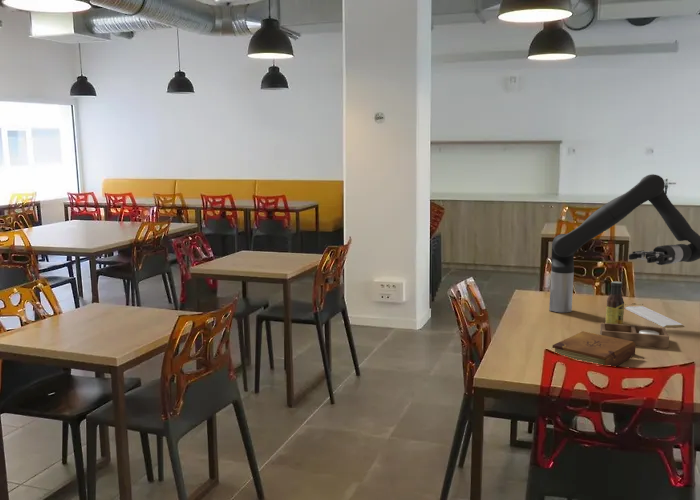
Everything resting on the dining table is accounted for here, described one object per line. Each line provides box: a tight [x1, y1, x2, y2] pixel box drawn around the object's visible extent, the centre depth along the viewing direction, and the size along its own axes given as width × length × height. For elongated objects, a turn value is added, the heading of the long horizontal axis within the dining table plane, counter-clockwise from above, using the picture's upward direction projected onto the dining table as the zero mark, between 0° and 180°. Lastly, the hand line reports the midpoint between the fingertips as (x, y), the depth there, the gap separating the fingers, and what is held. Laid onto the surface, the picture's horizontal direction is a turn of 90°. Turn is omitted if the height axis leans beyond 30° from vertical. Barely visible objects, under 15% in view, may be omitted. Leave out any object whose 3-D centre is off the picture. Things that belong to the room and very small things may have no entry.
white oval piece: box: [639, 330, 659, 335], centre depth 237 cm, size 7×7×4 cm
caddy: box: [599, 322, 670, 349], centre depth 239 cm, size 22×12×5 cm, turn 71°
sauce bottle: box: [604, 281, 625, 324], centre depth 250 cm, size 6×6×20 cm
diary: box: [552, 330, 637, 367], centre depth 222 cm, size 23×19×6 cm
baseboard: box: [624, 303, 684, 328], centre depth 274 cm, size 30×3×10 cm
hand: (638, 258), depth 252 cm, fingers open, 8 cm apart
